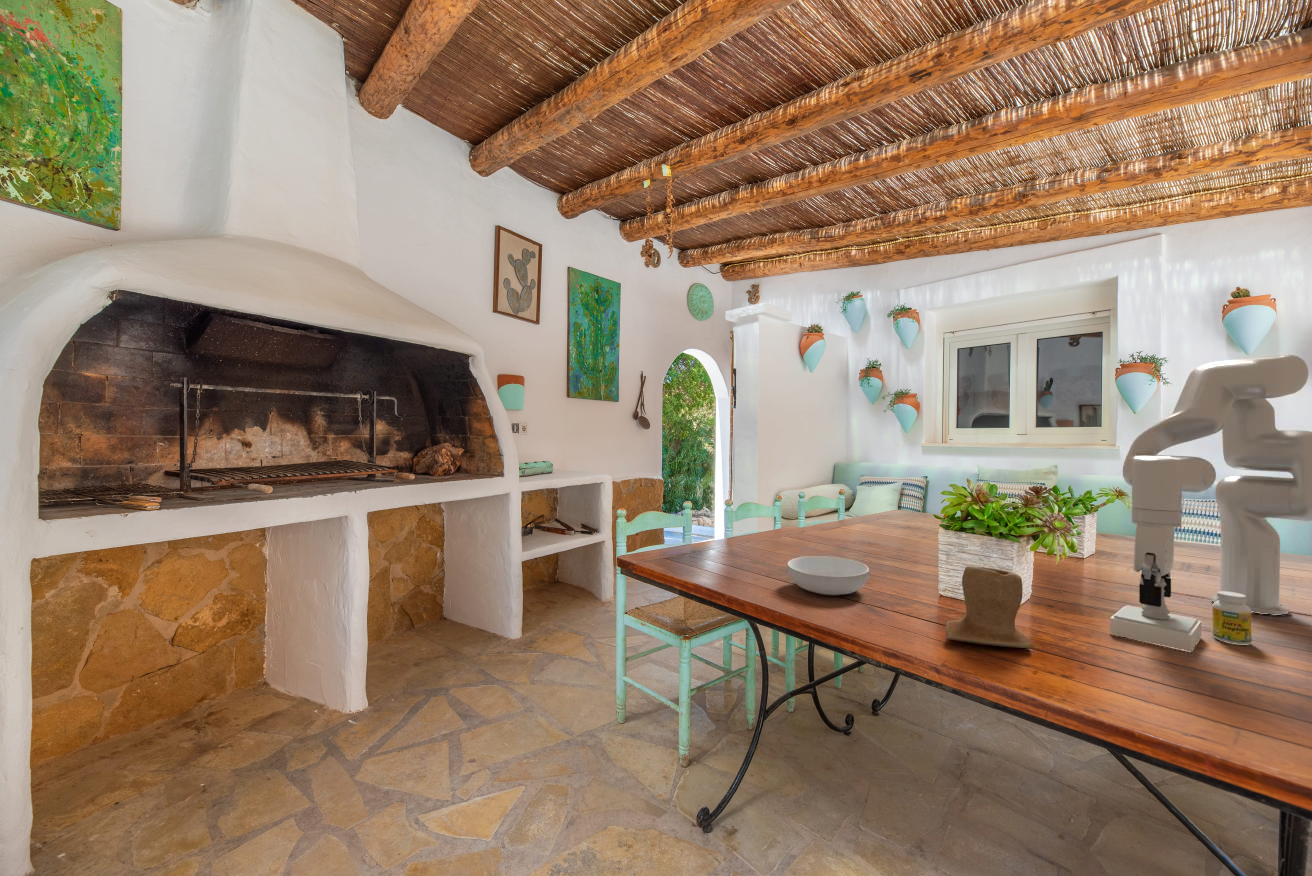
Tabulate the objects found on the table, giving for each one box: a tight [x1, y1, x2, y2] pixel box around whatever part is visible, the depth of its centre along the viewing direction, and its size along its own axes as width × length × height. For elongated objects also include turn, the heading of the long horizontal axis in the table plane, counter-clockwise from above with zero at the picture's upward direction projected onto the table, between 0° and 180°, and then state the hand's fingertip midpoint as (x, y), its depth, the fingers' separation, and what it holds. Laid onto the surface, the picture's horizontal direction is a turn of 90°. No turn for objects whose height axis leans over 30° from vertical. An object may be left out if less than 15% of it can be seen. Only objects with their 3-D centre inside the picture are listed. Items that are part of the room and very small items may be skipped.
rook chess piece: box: [1141, 577, 1171, 620], centre depth 110 cm, size 4×4×8 cm
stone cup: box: [945, 565, 1032, 649], centre depth 108 cm, size 15×12×15 cm
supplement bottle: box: [1212, 590, 1253, 645], centre depth 108 cm, size 5×5×10 cm
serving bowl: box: [787, 555, 870, 596], centre depth 143 cm, size 21×21×7 cm
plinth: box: [1109, 604, 1202, 652], centre depth 110 cm, size 12×12×4 cm
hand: (1155, 600), depth 110 cm, fingers open, 9 cm apart
